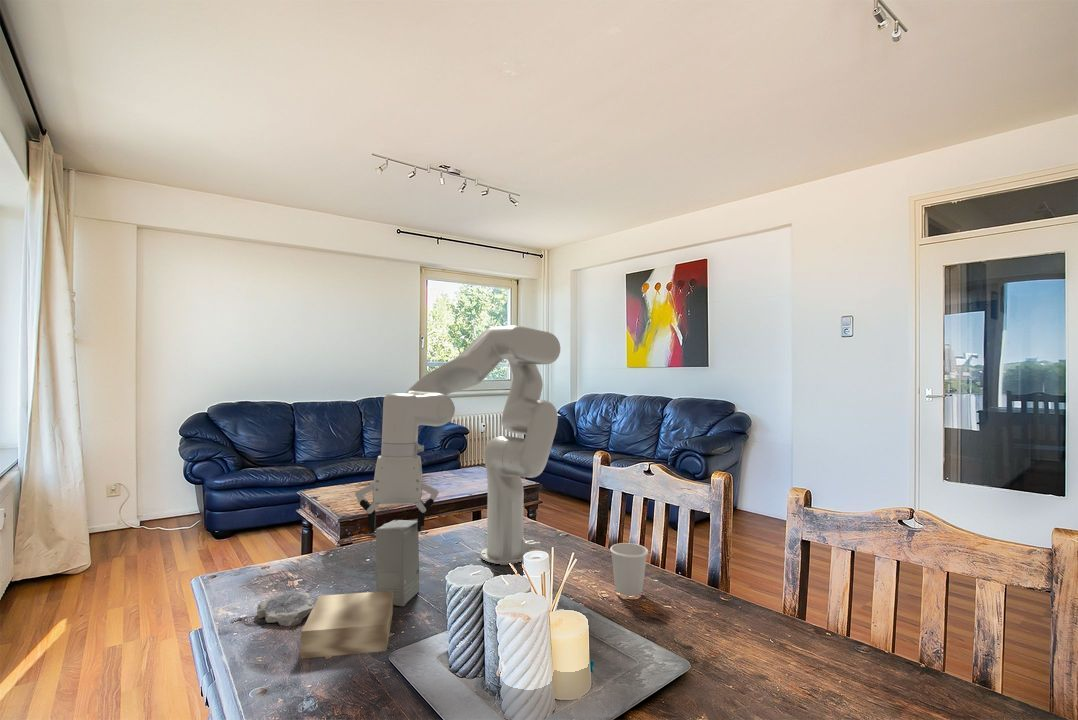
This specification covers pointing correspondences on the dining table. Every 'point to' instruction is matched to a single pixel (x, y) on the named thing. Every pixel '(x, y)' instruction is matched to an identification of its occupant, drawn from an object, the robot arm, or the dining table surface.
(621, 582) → the dixie cup
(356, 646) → the maple block
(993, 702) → the dining table surface
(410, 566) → the skincare box
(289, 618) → the grey rock
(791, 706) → the dining table surface
